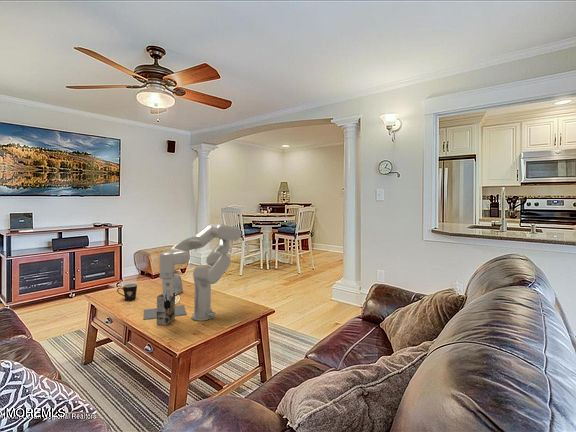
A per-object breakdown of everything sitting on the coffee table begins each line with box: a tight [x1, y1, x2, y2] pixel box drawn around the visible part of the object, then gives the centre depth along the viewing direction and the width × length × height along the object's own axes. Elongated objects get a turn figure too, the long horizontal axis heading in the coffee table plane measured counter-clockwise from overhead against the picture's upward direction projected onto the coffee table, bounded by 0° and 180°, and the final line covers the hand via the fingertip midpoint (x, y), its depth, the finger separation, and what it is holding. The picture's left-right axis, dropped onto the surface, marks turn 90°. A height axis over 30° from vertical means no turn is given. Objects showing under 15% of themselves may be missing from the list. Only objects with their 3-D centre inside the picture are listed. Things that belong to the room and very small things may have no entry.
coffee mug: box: [116, 283, 138, 302], centre depth 213 cm, size 12×9×10 cm
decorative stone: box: [173, 273, 184, 295], centre depth 227 cm, size 11×6×15 cm, turn 154°
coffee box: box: [156, 293, 176, 326], centre depth 179 cm, size 9×6×16 cm
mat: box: [143, 304, 188, 321], centre depth 193 cm, size 16×24×1 cm, turn 114°
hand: (167, 307), depth 169 cm, fingers closed
